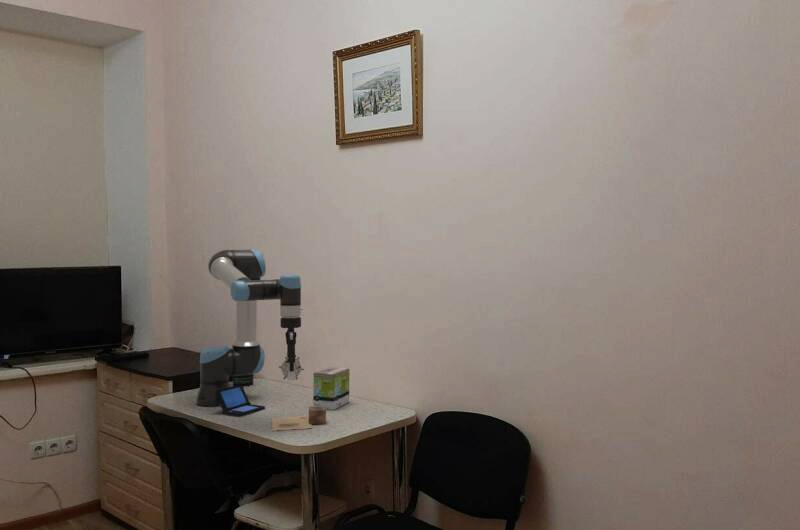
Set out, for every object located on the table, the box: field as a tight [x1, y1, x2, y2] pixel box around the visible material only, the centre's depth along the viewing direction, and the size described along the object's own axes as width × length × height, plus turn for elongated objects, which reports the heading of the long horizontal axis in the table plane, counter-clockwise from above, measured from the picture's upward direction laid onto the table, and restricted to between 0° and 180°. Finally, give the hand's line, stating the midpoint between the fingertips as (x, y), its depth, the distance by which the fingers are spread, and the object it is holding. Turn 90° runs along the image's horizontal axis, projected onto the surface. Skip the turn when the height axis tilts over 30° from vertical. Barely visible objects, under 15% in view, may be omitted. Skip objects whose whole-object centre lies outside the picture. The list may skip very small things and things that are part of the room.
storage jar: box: [232, 374, 254, 388], centre depth 315 cm, size 10×10×15 cm
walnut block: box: [308, 406, 327, 425], centre depth 244 cm, size 6×6×5 cm
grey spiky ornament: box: [278, 356, 305, 380], centre depth 242 cm, size 9×8×10 cm
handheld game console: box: [215, 385, 266, 417], centre depth 262 cm, size 16×13×9 cm
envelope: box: [271, 415, 313, 432], centre depth 242 cm, size 14×18×1 cm
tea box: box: [312, 366, 350, 411], centre depth 271 cm, size 15×10×15 cm, turn 161°
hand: (291, 377), depth 242 cm, fingers closed on grey spiky ornament, 9 cm apart
